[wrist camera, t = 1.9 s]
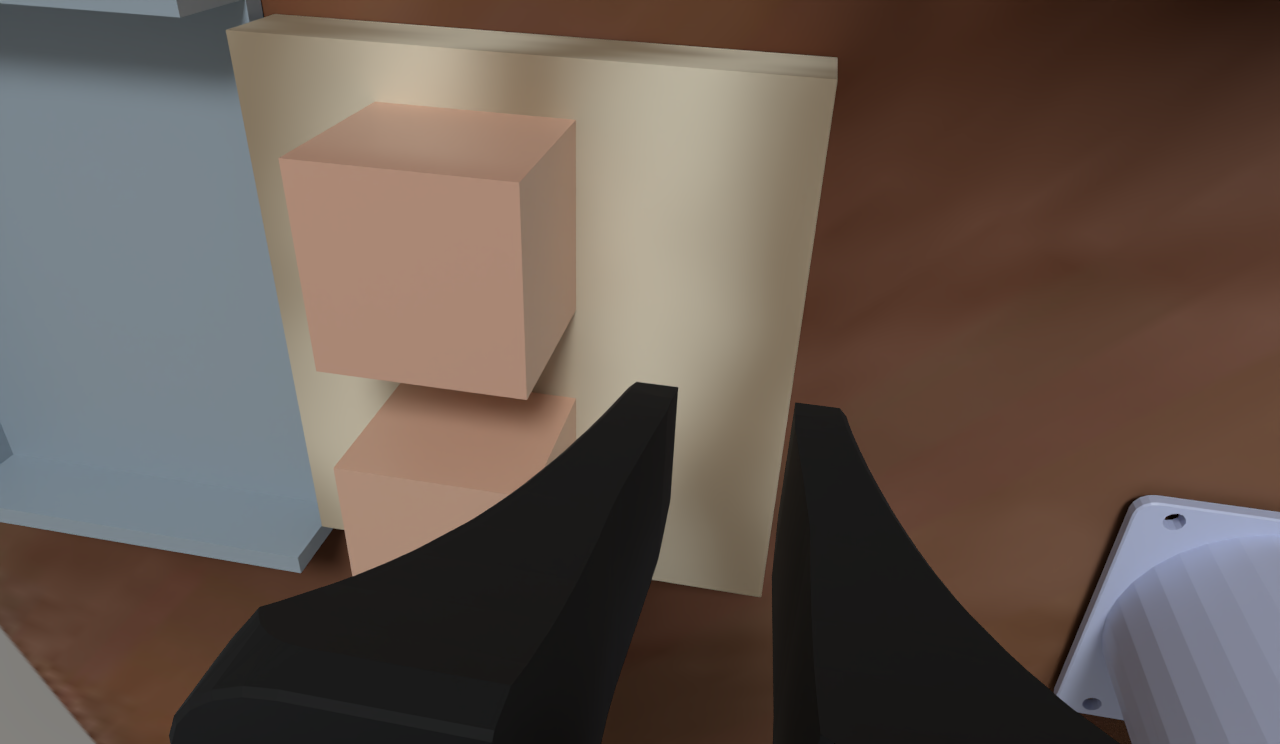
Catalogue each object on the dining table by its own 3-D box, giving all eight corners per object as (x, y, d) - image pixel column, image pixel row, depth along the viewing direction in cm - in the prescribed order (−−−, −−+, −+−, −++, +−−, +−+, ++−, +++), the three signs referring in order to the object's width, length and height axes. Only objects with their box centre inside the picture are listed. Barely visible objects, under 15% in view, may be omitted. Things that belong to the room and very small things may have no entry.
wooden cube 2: (575, 397, 23) (530, 497, 19) (576, 534, 25) (535, 644, 22) (406, 375, 23) (333, 467, 20) (422, 510, 26) (359, 613, 22)
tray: (254, -34, 21) (173, -15, 18) (348, 508, 29) (301, 573, 26) (-194, -65, 22) (-326, -51, 20) (17, 455, 31) (-57, 512, 28)
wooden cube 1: (575, 119, 19) (519, 182, 16) (576, 309, 21) (527, 400, 18) (374, 101, 20) (278, 158, 16) (396, 288, 22) (316, 371, 19)
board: (837, 57, 19) (837, 79, 18) (765, 548, 27) (761, 597, 25) (274, 14, 21) (225, 29, 19) (352, 485, 28) (322, 526, 27)
